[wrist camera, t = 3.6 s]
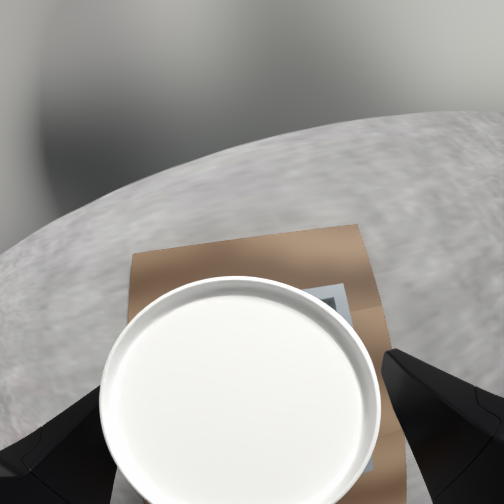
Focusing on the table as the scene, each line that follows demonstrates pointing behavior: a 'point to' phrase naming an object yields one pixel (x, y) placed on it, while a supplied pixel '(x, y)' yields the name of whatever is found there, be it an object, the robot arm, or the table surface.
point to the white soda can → (240, 397)
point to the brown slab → (301, 277)
